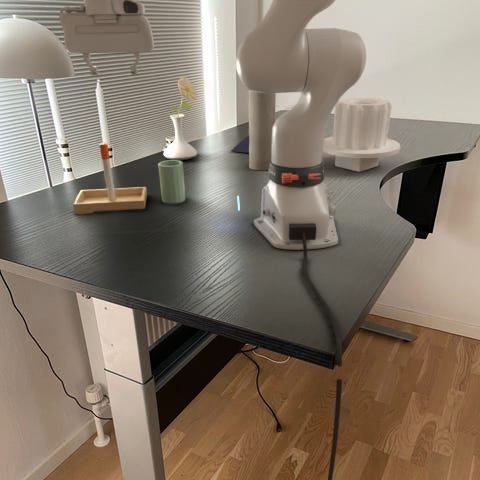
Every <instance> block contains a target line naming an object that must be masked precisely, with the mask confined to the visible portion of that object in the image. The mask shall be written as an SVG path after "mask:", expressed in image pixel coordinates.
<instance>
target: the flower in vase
mask: <svg viewBox="0 0 480 480" xmlns="http://www.w3.org/2000/svg"><path fill="white" fill-rule="evenodd" d="M177 87H178V90H179V94H180V95H181V101H180V106H179V107H178V106H175V105H174V104H171V107H170V108H171V110H173V111H176V112H178V113H175V114H170V115H169V117H170V118H171V120H172V123H173V126H174V134H175V135H174V140H173V141H172V143H170V144H169V145H168V146H167V147H166V148H165V149H164V151H163V156H164V157H165V158H166V159H167V160H178V161H185V160H186V161H187V160H190V159H192V158H195V157H196V156H197V154H198V152H197V149H196V148H194V146H193V145H191V144H190V143H188V142H187V141H186V140H185V138H184V137H183V122H184V121H183V120H184V118H185V117H186V116H185V115H186V114H182V113H180V112H181V110H182V109H184V110H185V111H189V110H190V109H192V105H191V104H190V103H189V102H193V103H194V101H195V100H196V99H197V97H198V95H197V93H198V92H197V90H196V87H195V86H194V83H193V82H191V80H190V79H189V78H188V77H186V76H185V77H184V76H181V77H180V78H179V80H177ZM183 100H186V101H184V102H183ZM187 101H188V102H187Z"/></svg>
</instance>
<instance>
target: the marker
mask: <svg viewBox="0 0 480 480" xmlns="http://www.w3.org/2000/svg"><path fill="white" fill-rule="evenodd" d="M98 147H99V153H100V158H101V162H102V168H103V173H104V181H105V185H106V189H107V192H108V198H109V202H110V201H116V197H115V191H114V188H115V185H114V179H113V172H112V166H111V161H110V157H111V156H110V152H109V145H108V143H107V142H101V143H98Z"/></svg>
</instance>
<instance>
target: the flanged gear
mask: <svg viewBox="0 0 480 480" xmlns="http://www.w3.org/2000/svg"><path fill="white" fill-rule="evenodd" d="M392 107H393V106H392V103H391V102H390V101H389V100H386V99H381V98H372V97H371V98H369V97H353V98H352V97H351V98H343V99H340V100H338V102H337V103H336V105H335V106H334V115H333V116H334V117H333V127H332V136H329V137H324V143H323V153H324V154H328V155H331V156H335V158H334V167H337V168H341V169H346V170H349V171H354V172H359V173H360V172H364V171H367V170H370V169H373V168H376V167H378V166H379V161H380V158H386V157H390V156H391V157H392V156H394V155H397V154H398V153H399V152H400V151H401V143H400V142H398V141H396V140H394V139H391V138H388V136H389V135H388V134H389V128H390V122H391V114H392Z"/></svg>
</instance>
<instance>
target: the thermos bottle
mask: <svg viewBox="0 0 480 480" xmlns="http://www.w3.org/2000/svg"><path fill="white" fill-rule="evenodd" d="M248 90H249V89H248ZM276 95H277V93H265V92H259V91H254V90H249V91H248V136H249V153H248V168H249V169H250V170H254V171H269V162H270V161H271V151H272V127H273V125H274V123H275V121H276Z"/></svg>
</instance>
